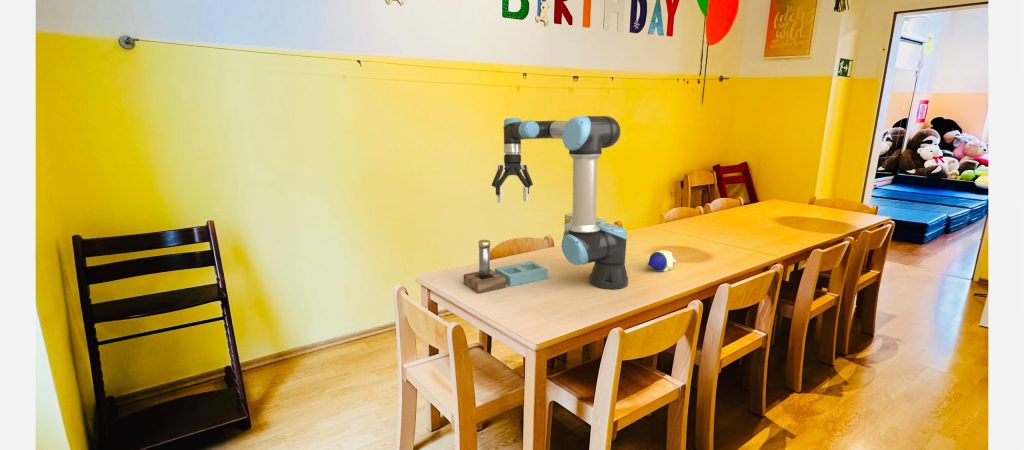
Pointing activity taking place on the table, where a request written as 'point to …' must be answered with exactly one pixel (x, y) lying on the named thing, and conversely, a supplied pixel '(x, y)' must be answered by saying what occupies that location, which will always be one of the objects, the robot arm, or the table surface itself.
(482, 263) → the grey metal cylinder
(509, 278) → the block
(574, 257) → the robot arm
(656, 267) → the cartoon head
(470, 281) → the socket block
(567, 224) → the snack box
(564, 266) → the table surface
